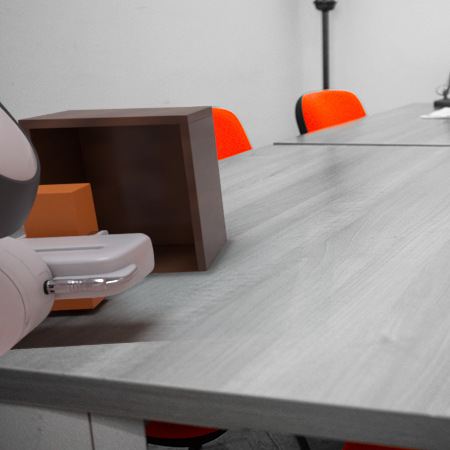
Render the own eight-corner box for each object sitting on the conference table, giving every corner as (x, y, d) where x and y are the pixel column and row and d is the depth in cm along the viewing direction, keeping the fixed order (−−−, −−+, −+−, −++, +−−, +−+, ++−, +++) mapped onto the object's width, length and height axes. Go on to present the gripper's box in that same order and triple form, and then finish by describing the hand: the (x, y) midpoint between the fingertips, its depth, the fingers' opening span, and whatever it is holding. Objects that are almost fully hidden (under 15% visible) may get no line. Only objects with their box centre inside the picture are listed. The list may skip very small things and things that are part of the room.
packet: (42, 311, 57) (16, 194, 53) (61, 295, 61) (38, 185, 57) (94, 308, 57) (71, 191, 54) (110, 293, 61) (90, 183, 58)
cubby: (53, 290, 68) (17, 119, 62) (95, 256, 79) (69, 110, 73) (208, 282, 69) (187, 114, 63) (228, 250, 80) (211, 106, 75)
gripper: (116, 248, 45) (170, 204, 58) (-164, 261, 43) (-43, 213, 56) (129, 321, 46) (178, 263, 60) (-140, 337, 45) (-28, 273, 58)
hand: (69, 239), depth 58 cm, fingers closed on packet, 5 cm apart
